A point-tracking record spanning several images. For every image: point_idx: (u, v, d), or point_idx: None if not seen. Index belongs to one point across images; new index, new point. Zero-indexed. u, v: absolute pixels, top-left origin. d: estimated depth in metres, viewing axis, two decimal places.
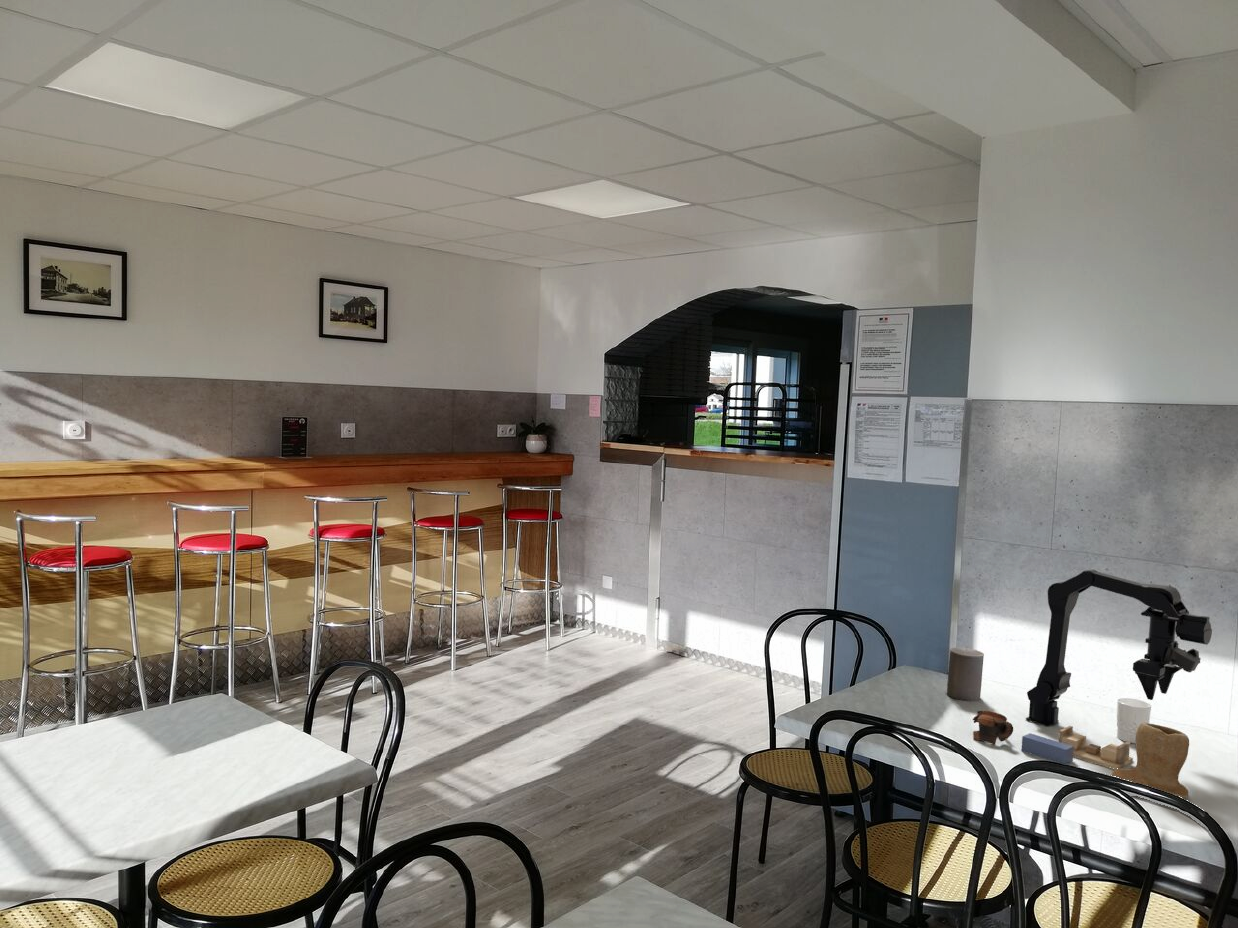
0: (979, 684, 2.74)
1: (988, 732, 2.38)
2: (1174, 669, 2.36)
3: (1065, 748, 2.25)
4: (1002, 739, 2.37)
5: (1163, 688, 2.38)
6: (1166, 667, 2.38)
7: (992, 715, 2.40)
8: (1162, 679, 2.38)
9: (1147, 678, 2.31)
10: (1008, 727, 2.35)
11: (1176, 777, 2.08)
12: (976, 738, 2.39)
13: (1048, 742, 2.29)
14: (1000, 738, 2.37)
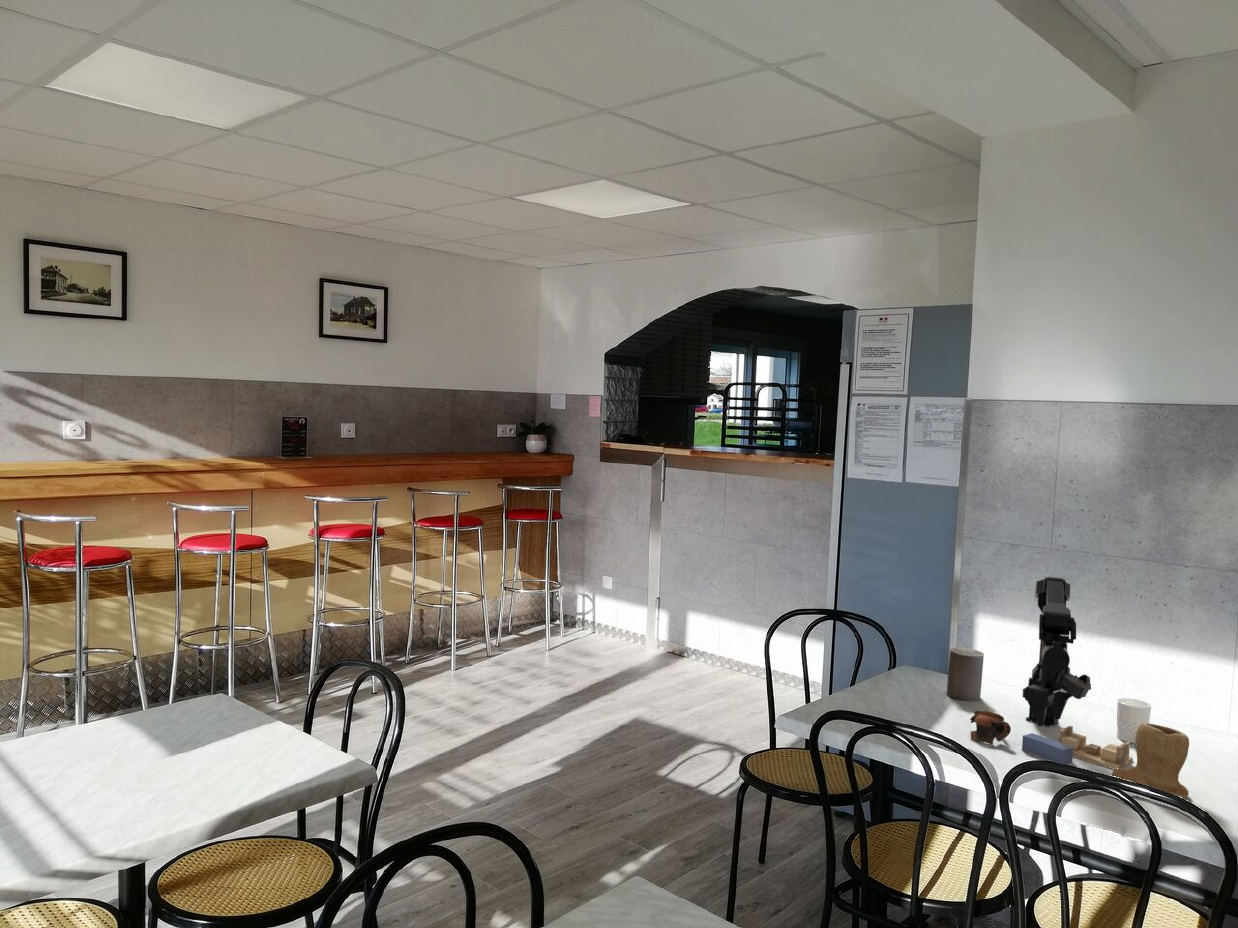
0: (979, 684, 2.74)
1: (986, 732, 2.38)
2: (1067, 695, 2.31)
3: (1063, 748, 2.25)
4: (999, 739, 2.37)
5: (1057, 714, 2.33)
6: (1060, 692, 2.33)
7: (989, 715, 2.40)
8: (1056, 705, 2.33)
9: (1037, 704, 2.26)
10: (1005, 727, 2.35)
11: (1176, 777, 2.08)
12: (973, 738, 2.39)
13: (1048, 742, 2.29)
14: (997, 738, 2.37)
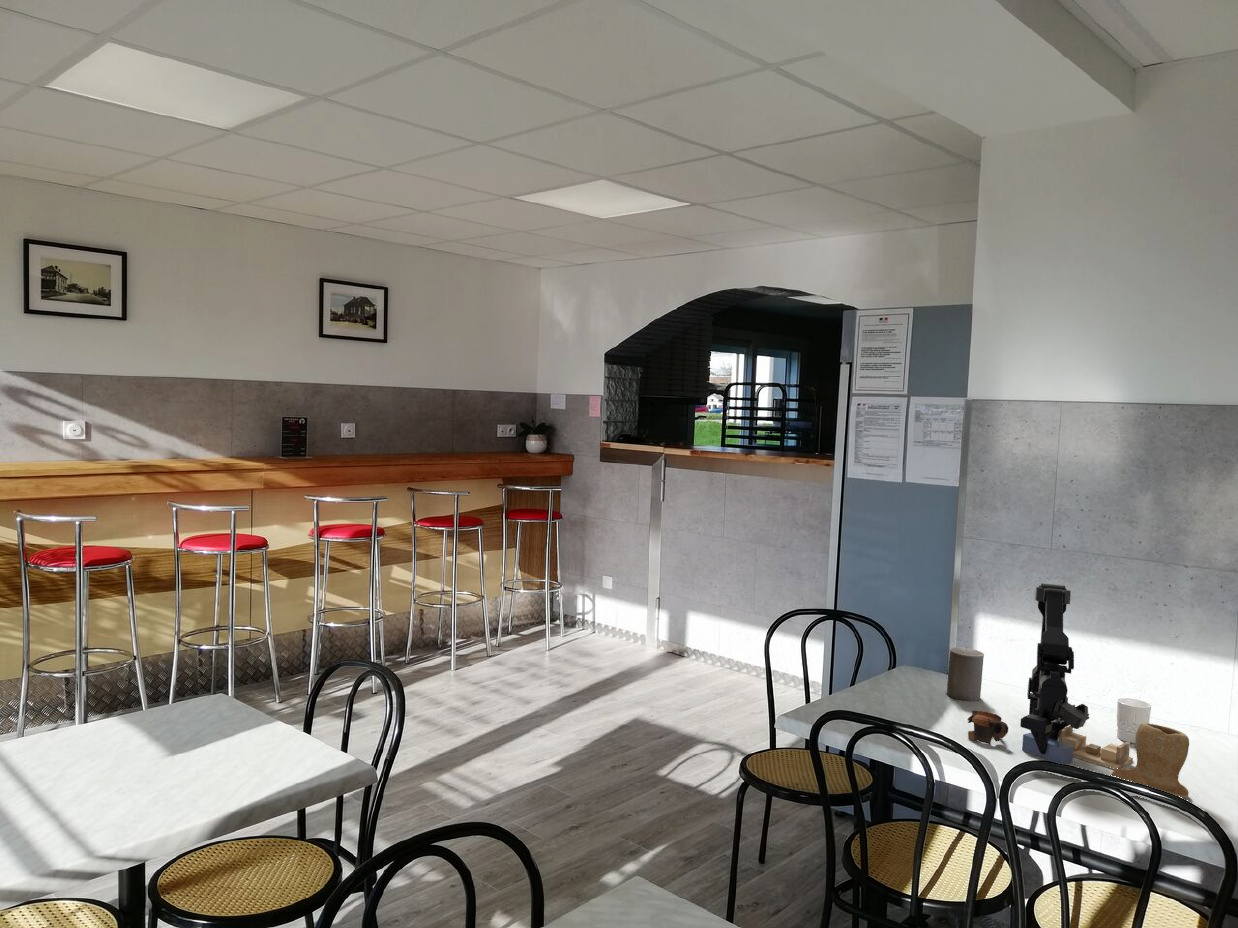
0: (979, 684, 2.74)
1: (983, 732, 2.38)
2: (1061, 725, 2.30)
3: (1063, 747, 2.25)
4: (997, 739, 2.37)
5: None
6: (1054, 723, 2.32)
7: (986, 715, 2.40)
8: (1050, 735, 2.32)
9: (1039, 732, 2.28)
10: (1003, 727, 2.35)
11: (1176, 777, 2.08)
12: (971, 738, 2.39)
13: None
14: (995, 738, 2.37)
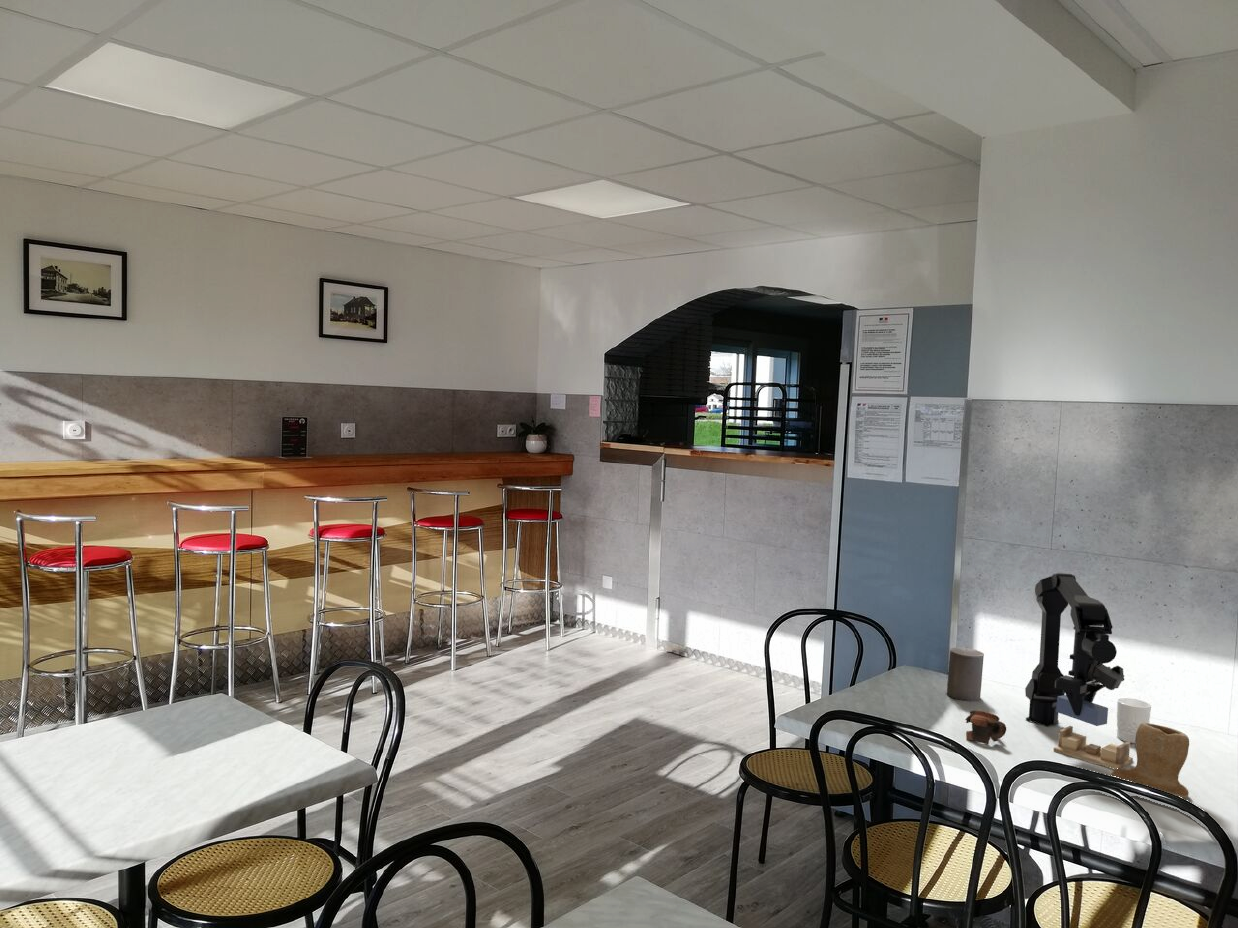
0: (979, 684, 2.74)
1: (981, 733, 2.37)
2: (1096, 687, 2.30)
3: (1097, 709, 2.25)
4: (995, 739, 2.37)
5: None
6: (1088, 685, 2.32)
7: (984, 715, 2.40)
8: (1084, 697, 2.32)
9: (1074, 694, 2.28)
10: (1001, 727, 2.35)
11: (1176, 777, 2.08)
12: (969, 738, 2.39)
13: None
14: (993, 738, 2.37)
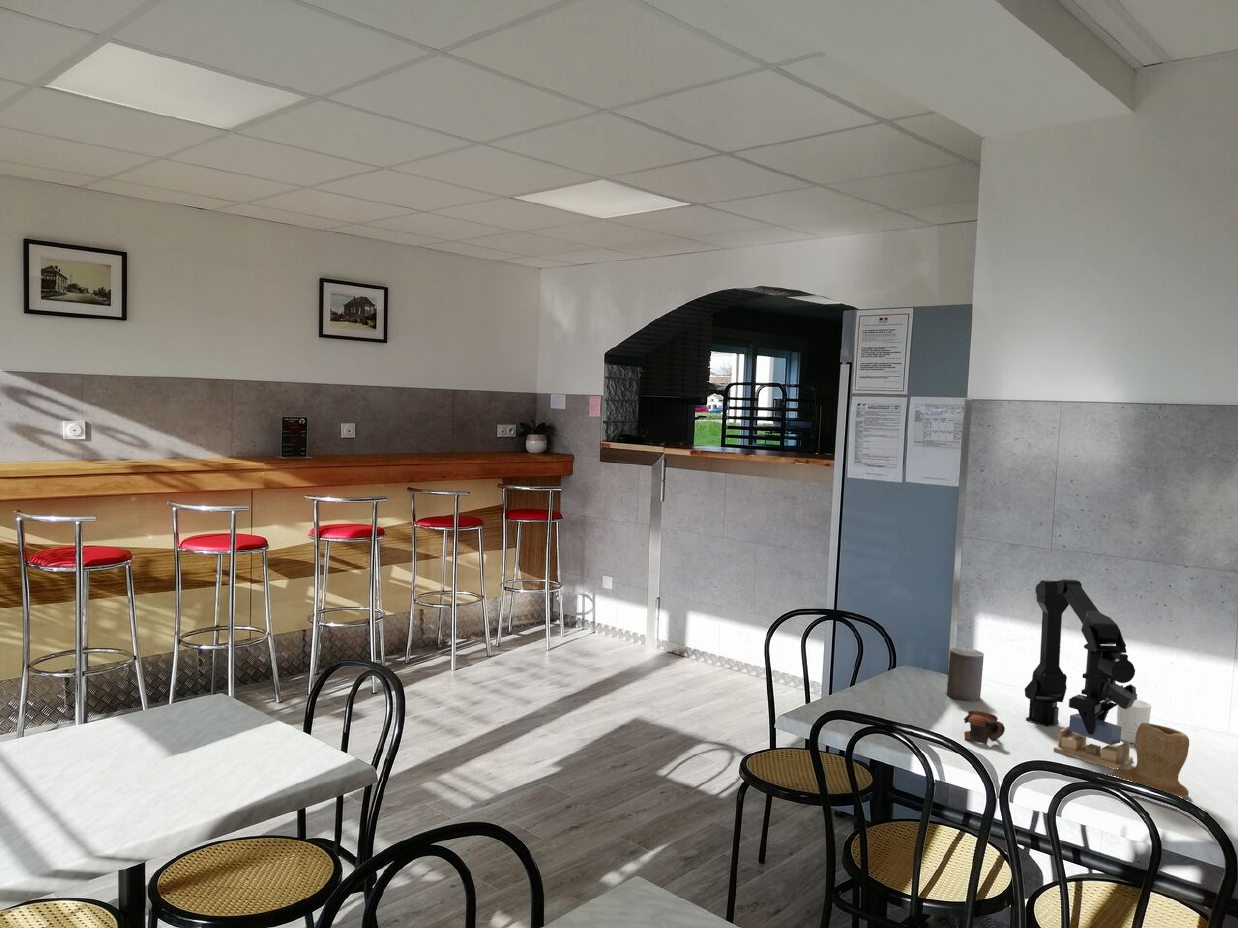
0: (979, 684, 2.74)
1: (980, 733, 2.37)
2: (1108, 706, 2.31)
3: (1111, 728, 2.26)
4: (993, 739, 2.37)
5: None
6: (1101, 704, 2.33)
7: (983, 715, 2.40)
8: (1097, 716, 2.33)
9: (1087, 713, 2.29)
10: (999, 727, 2.35)
11: (1176, 777, 2.08)
12: (967, 738, 2.39)
13: None
14: (991, 738, 2.36)
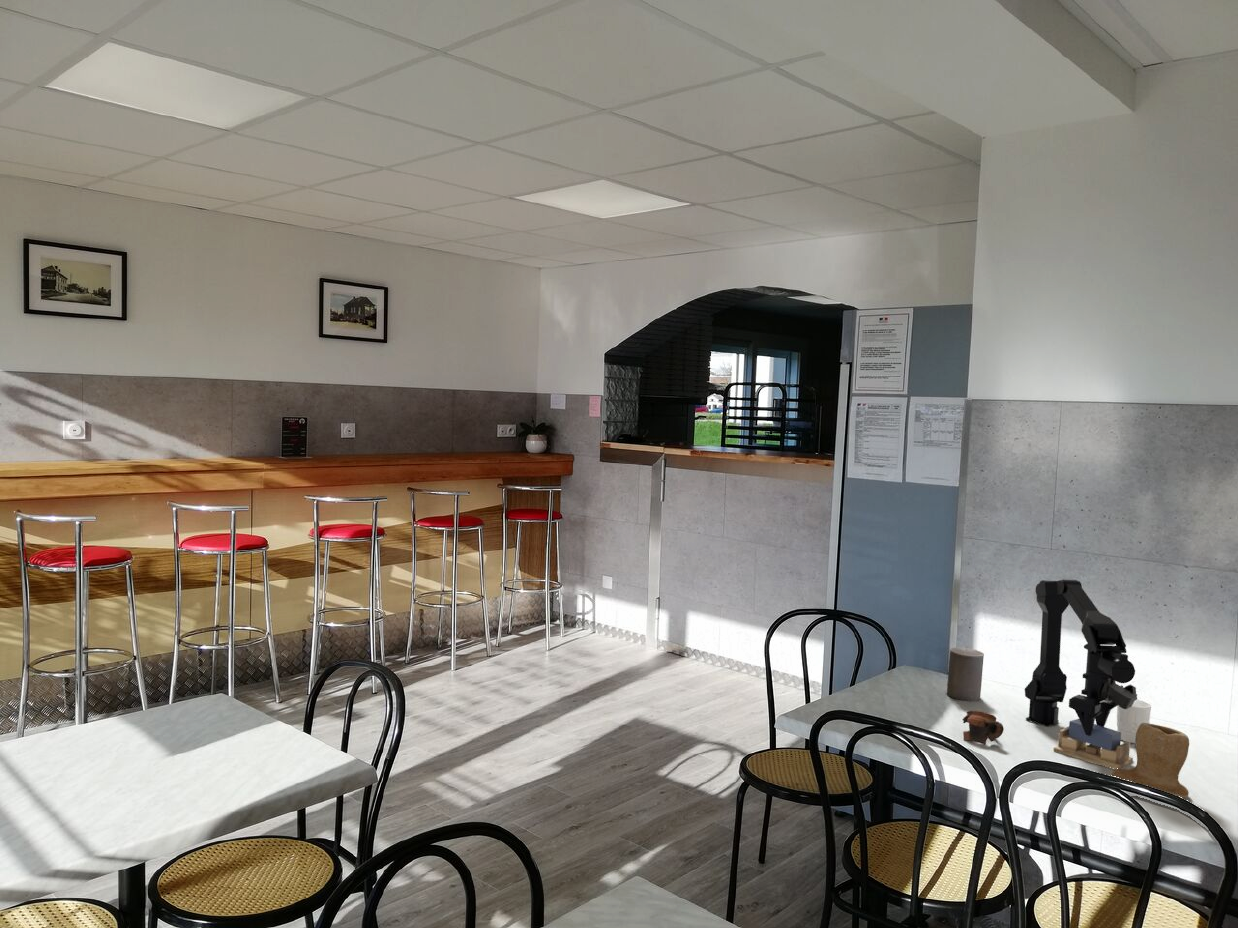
0: (979, 684, 2.74)
1: (979, 733, 2.37)
2: (1110, 705, 2.32)
3: (1111, 733, 2.26)
4: (992, 739, 2.37)
5: (1100, 724, 2.33)
6: (1103, 703, 2.34)
7: (982, 715, 2.40)
8: (1099, 715, 2.34)
9: (1085, 714, 2.28)
10: (998, 727, 2.35)
11: (1176, 777, 2.08)
12: (966, 738, 2.39)
13: (1095, 727, 2.30)
14: (990, 738, 2.36)
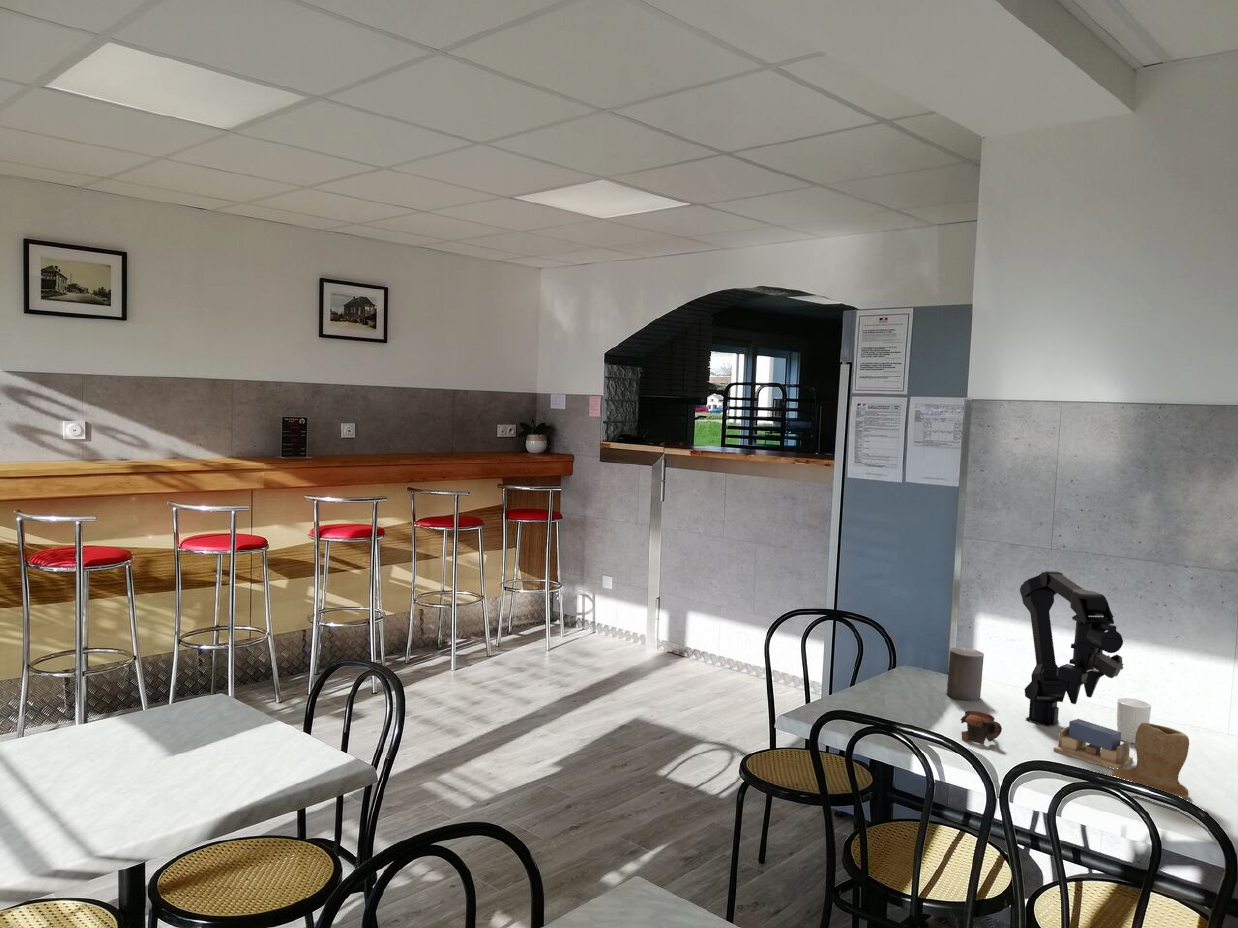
0: (979, 684, 2.74)
1: (977, 733, 2.37)
2: (1099, 674, 2.41)
3: (1111, 733, 2.26)
4: (990, 739, 2.36)
5: (1088, 692, 2.42)
6: (1092, 671, 2.42)
7: (980, 715, 2.40)
8: (1088, 683, 2.42)
9: (1071, 683, 2.35)
10: (997, 727, 2.35)
11: (1176, 777, 2.08)
12: (964, 738, 2.39)
13: (1095, 727, 2.30)
14: (988, 738, 2.36)
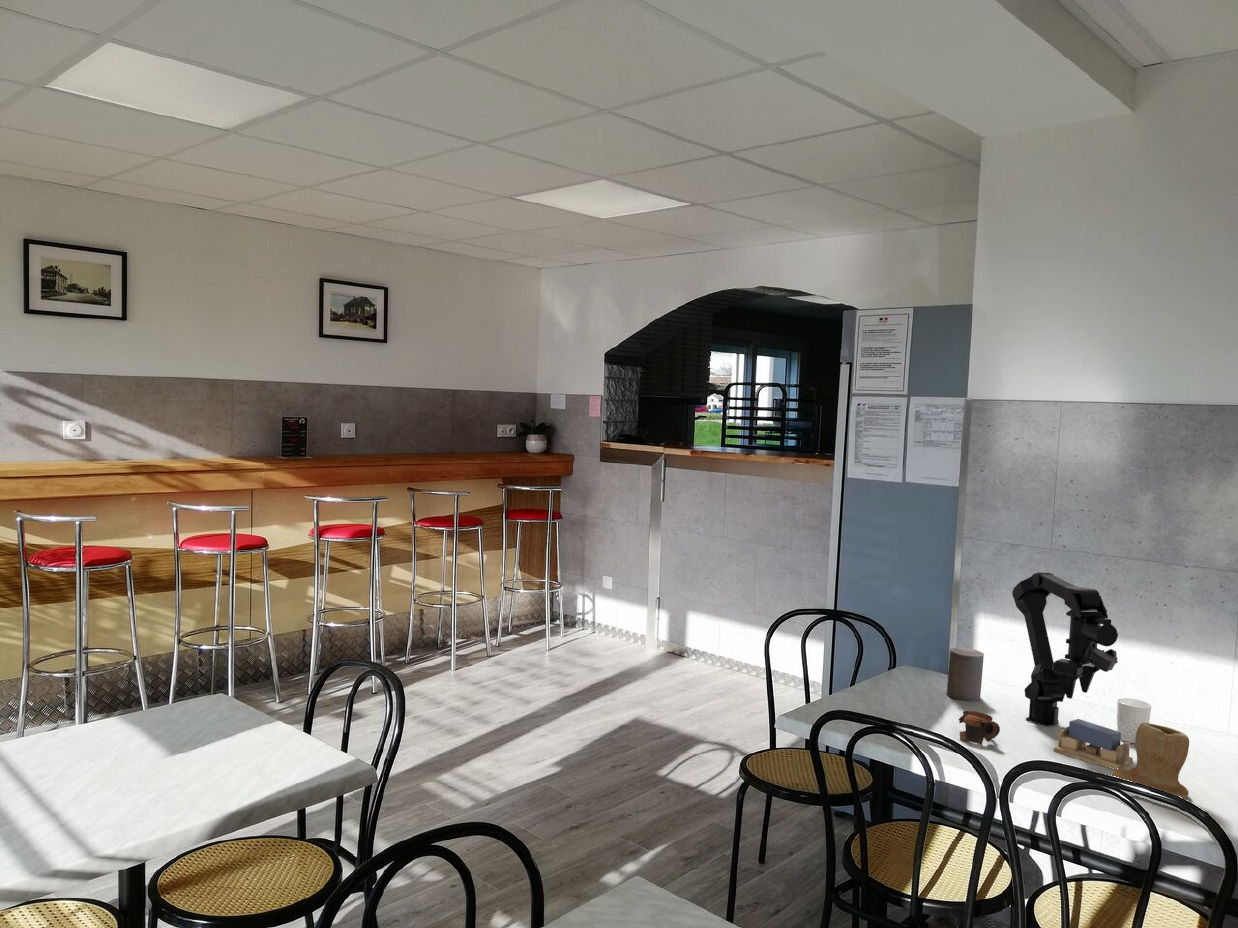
0: (979, 684, 2.74)
1: (975, 733, 2.37)
2: (1094, 669, 2.44)
3: (1111, 733, 2.26)
4: (989, 739, 2.36)
5: (1084, 687, 2.45)
6: (1087, 667, 2.45)
7: (978, 715, 2.39)
8: (1083, 678, 2.45)
9: (1066, 677, 2.38)
10: (995, 727, 2.35)
11: (1176, 777, 2.08)
12: (963, 739, 2.38)
13: (1095, 727, 2.30)
14: (987, 738, 2.36)
